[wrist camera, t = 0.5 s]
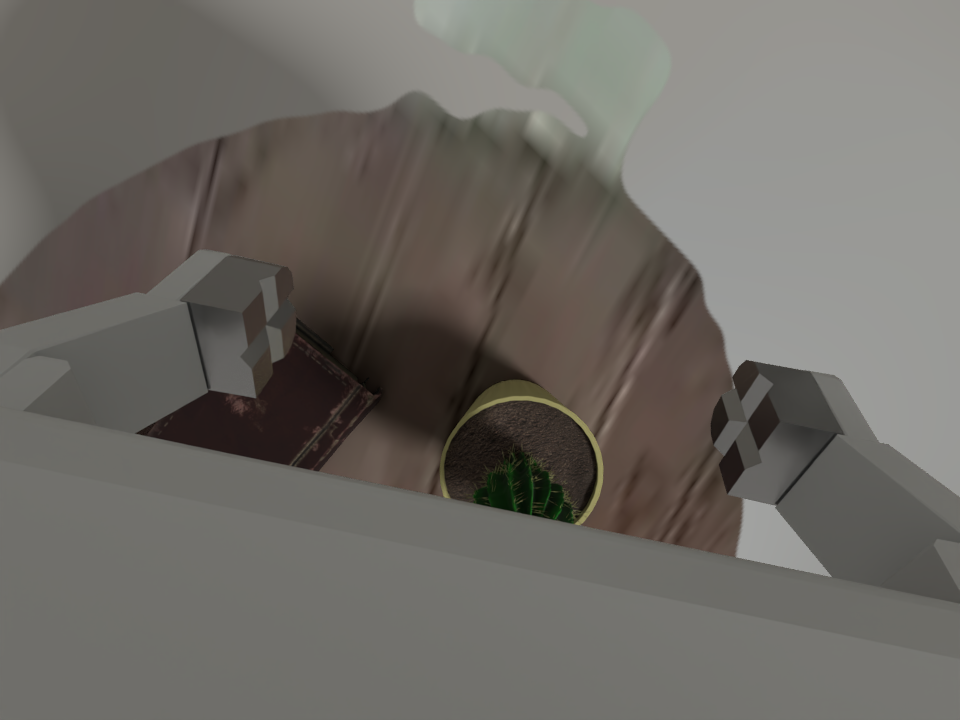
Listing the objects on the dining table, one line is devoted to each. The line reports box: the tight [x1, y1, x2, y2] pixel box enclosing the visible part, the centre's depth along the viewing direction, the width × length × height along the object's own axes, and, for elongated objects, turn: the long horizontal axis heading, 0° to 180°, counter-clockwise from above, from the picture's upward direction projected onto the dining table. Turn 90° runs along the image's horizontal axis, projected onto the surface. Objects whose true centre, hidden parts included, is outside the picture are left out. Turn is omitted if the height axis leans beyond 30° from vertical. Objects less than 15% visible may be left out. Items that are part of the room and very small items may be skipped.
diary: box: [146, 318, 383, 471], centre depth 64 cm, size 19×25×5 cm
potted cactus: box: [440, 380, 603, 525], centre depth 50 cm, size 15×15×30 cm
